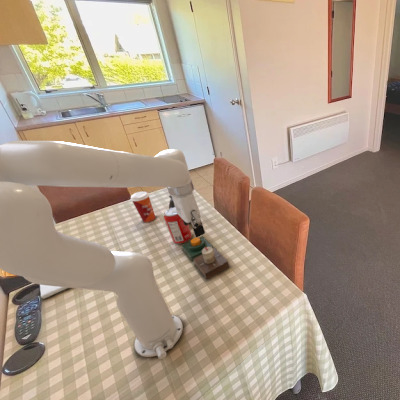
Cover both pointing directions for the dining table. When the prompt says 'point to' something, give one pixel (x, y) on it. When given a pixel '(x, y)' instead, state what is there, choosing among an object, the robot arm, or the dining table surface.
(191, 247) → the switch box
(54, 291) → the hard drive
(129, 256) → the robot arm
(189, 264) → the dining table surface
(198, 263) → the dimmer panel
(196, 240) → the power button
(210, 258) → the dimmer knob
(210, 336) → the dining table surface
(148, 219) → the paper cup
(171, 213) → the soda can
